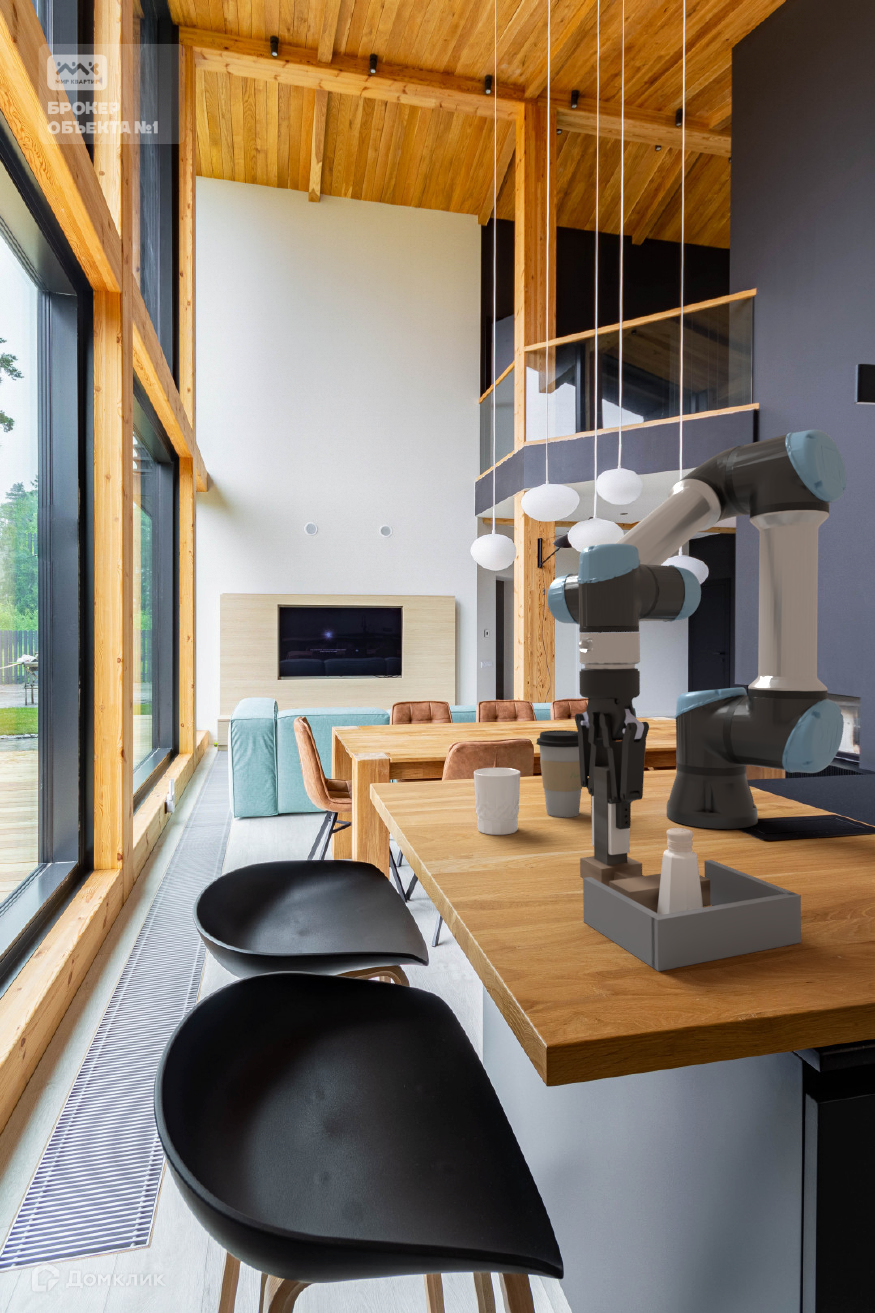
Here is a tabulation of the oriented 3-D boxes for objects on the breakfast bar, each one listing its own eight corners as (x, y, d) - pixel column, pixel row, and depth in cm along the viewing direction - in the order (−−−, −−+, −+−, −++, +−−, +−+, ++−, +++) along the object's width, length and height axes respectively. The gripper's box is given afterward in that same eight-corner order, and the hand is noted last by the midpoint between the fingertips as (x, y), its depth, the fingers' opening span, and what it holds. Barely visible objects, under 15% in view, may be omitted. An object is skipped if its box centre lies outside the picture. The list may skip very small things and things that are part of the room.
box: (711, 900, 89) (711, 859, 89) (800, 942, 76) (800, 895, 76) (583, 921, 83) (583, 878, 83) (658, 971, 70) (657, 920, 70)
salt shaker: (691, 943, 77) (691, 839, 76) (645, 929, 80) (644, 830, 80) (715, 929, 80) (714, 830, 80) (670, 916, 84) (669, 821, 84)
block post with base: (635, 869, 98) (634, 761, 98) (710, 905, 84) (709, 780, 84) (563, 879, 94) (562, 767, 94) (629, 919, 80) (628, 788, 80)
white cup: (471, 825, 127) (470, 768, 127) (516, 823, 128) (515, 767, 128) (477, 837, 119) (477, 776, 119) (525, 835, 120) (524, 775, 120)
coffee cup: (588, 820, 129) (587, 736, 129) (535, 818, 131) (534, 735, 131) (588, 808, 139) (587, 730, 138) (538, 807, 140) (537, 729, 140)
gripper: (552, 665, 99) (553, 836, 100) (620, 669, 84) (622, 871, 85) (599, 664, 102) (601, 831, 102) (674, 667, 87) (675, 863, 87)
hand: (610, 848), depth 94 cm, fingers closed on block post with base, 3 cm apart
